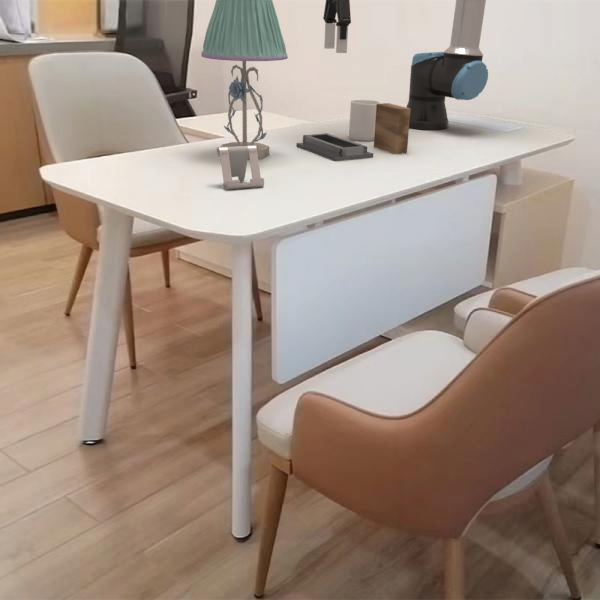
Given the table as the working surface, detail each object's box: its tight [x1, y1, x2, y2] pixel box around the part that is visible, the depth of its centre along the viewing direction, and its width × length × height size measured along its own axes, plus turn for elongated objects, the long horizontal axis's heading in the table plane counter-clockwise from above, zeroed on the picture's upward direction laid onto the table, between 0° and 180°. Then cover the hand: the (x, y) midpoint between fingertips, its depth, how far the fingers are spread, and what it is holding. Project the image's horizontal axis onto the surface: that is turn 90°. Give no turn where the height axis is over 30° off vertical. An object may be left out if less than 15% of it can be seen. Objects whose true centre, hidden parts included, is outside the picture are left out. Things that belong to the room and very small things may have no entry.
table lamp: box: [201, 0, 289, 161], centre depth 186 cm, size 22×22×40 cm
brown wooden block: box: [373, 102, 411, 155], centre depth 203 cm, size 4×10×12 cm, turn 30°
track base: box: [296, 132, 374, 162], centre depth 200 cm, size 12×20×3 cm, turn 30°
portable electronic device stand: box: [216, 145, 265, 191], centre depth 163 cm, size 9×8×8 cm
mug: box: [348, 99, 381, 142], centre depth 218 cm, size 9×12×11 cm
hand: (335, 50), depth 198 cm, fingers open, 13 cm apart
